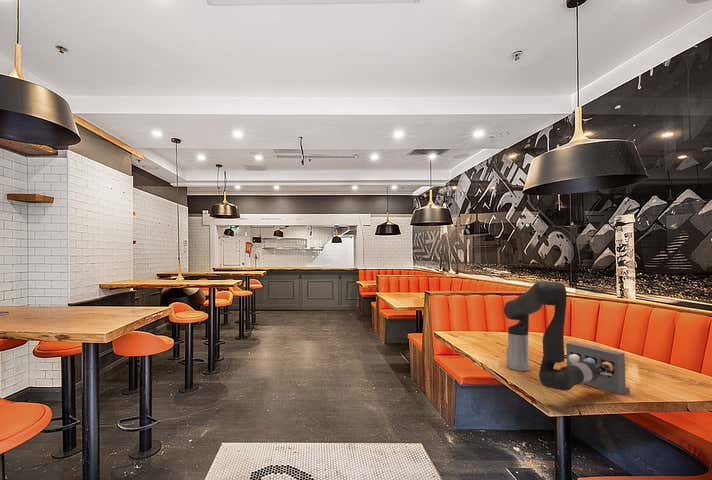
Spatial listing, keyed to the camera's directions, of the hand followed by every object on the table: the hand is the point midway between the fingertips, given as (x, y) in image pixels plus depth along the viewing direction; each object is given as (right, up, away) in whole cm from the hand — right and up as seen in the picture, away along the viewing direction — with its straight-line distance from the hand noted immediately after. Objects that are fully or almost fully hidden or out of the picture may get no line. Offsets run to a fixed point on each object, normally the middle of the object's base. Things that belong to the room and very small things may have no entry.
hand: (606, 367), depth 143 cm
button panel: (+1, -10, +7) cm, 13 cm away
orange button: (+1, -2, +1) cm, 3 cm away
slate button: (-3, -2, +6) cm, 7 cm away
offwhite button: (-6, -3, +12) cm, 13 cm away
